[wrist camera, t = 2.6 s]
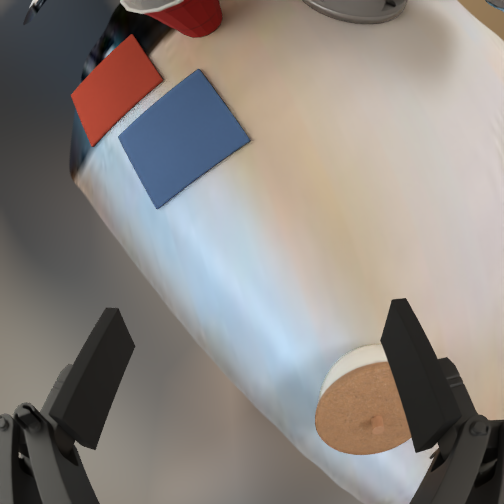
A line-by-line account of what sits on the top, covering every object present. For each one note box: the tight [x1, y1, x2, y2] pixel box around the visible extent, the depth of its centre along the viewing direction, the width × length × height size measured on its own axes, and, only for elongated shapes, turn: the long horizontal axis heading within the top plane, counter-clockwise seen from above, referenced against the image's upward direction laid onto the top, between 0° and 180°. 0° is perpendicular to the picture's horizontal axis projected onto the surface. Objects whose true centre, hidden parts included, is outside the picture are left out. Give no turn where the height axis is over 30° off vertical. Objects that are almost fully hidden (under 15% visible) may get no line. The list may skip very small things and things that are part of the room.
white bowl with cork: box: [315, 344, 411, 455], centre depth 27 cm, size 13×13×11 cm
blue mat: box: [118, 69, 250, 209], centre depth 32 cm, size 12×14×1 cm
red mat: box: [71, 34, 163, 147], centre depth 33 cm, size 12×14×1 cm
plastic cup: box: [120, 0, 222, 38], centre depth 23 cm, size 11×11×12 cm
